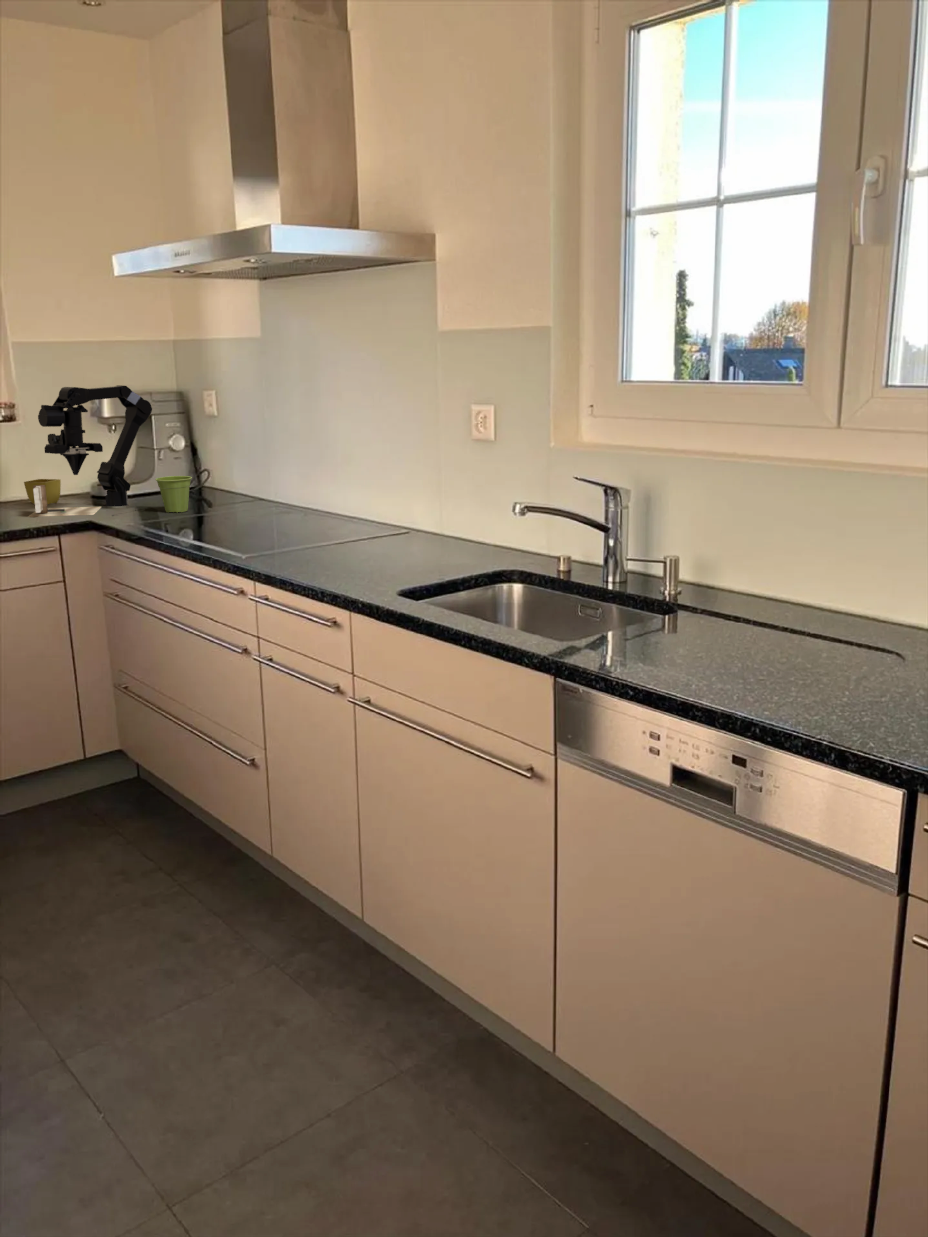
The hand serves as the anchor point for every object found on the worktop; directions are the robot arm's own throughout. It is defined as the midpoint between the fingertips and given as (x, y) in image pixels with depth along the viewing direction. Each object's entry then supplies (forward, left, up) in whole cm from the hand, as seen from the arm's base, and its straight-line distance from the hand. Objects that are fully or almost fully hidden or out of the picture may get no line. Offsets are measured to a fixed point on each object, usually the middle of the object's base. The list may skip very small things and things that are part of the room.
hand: (75, 474), depth 333 cm
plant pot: (-31, +2, -13) cm, 34 cm away
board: (+4, +2, -13) cm, 14 cm away
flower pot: (+15, -21, -13) cm, 29 cm away
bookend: (+8, +8, -11) cm, 16 cm away
